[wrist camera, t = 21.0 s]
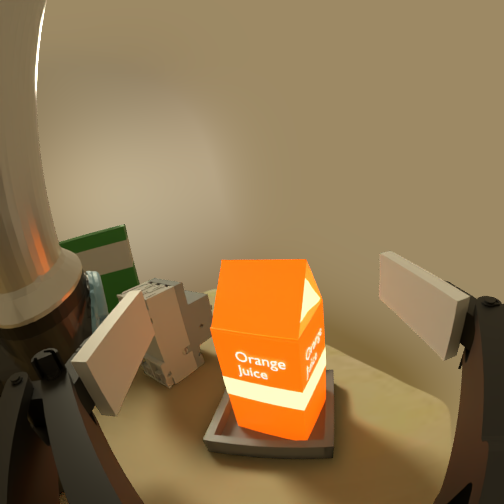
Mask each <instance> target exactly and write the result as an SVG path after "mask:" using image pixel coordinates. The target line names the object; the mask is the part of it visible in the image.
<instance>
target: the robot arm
mask: <svg viewBox="0 0 504 504" xmlns="http://www.w3.org/2000/svg"><path fill="white" fill-rule="evenodd" d="M45 5H46V0H0V504H60V497H59V494H60V493H61V492H63V491H64V492H65V495H66V497H67V500H68V503H69V504H144V503H143V501H142V500H141V498H140V497H139V495H138V494H137V492H136V491H135V489H134V488H133V486H132V485H131V483H130V481H129V480H128V478H127V477H126V475H125V473H124V472H123V470H122V468H121V466H120V465H119V463H118V461H117V459H116V457H115V456H114V454H113V452H112V450H111V448H110V446H109V444H108V442H107V440H106V438H105V436H104V434H103V432H102V430H101V428H100V425H99V423H98V421H97V419H96V417H95V415H94V414H93V412H92V410H93V408H94V406H95V405H96V407H97V408H98V410H99V412H100V413H101V415H108V416H117V415H118V413H119V410H120V408H121V406H122V403H123V401H124V399H125V397H126V394H127V392H128V390H129V388H130V385H131V383H132V381H133V379H134V377H135V374H136V372H137V370H138V368H139V366H140V364H141V362H142V360H143V357H144V355H145V353H146V351H147V349H148V347H149V345H150V343H151V341H152V339H153V337H154V335H155V332H154V329H153V326H152V323H151V320H150V317H149V313H148V310H147V307H146V304H145V300H144V297H143V294H142V290H136V291H129V292H128V293H127V294H126V296H125V297H124V298H123V299H122V300H121V301H120V302H119V304H118V305H117V306H116V307H115V308H114V309H113V310H112V312H111V313H110V314H109V313H108V307H107V303H106V298H105V294H104V290H103V285H102V281H101V277H100V274H99V273H98V272H97V271H89V270H88V271H86V272H85V273H84V270H83V267H82V264H81V261H80V259H79V258H78V256H77V255H76V254H75V253H73V252H71V251H69V250H67V249H64V248H62V247H61V246H60V245H59V242H58V238H57V235H56V231H55V227H54V223H53V219H52V215H51V211H50V206H49V202H48V197H47V192H46V187H45V181H44V175H43V169H42V162H41V154H40V145H39V136H38V122H37V65H38V52H39V42H40V34H41V27H42V21H43V15H44V10H45ZM379 285H380V286H379V299H381V300H382V301H383V302H384V303H385V304H386V305H387V306H388V307H389V308H390V309H391V310H392V311H393V312H395V313H396V314H397V315H398V316H399V317H400V318H401V319H402V320H403V321H404V322H405V323H406V324H407V325H408V326H409V327H410V328H411V329H412V330H413V331H414V332H416V334H418V336H419V337H420V338H422V339H423V341H424V342H425V343H427V345H428V346H429V347H431V349H432V350H433V351H435V353H436V354H437V355H438V356H439V357H440V358H441V359H442V360H443V361H445V360H447V359H449V358H452V357H454V356H455V355H457V352H458V348H459V344H460V343H461V344H462V345H463V346H464V347H465V349H464V352H463V355H462V359H461V362H460V366H459V368H458V369H461V366H462V383H461V395H460V405H459V412H458V420H457V426H456V432H455V438H454V443H453V447H452V452H451V456H450V461H449V465H448V468H447V472H446V476H445V479H444V483H443V486H442V488H441V491H440V493H439V494H438V496H437V498H436V499H435V501H434V503H433V504H504V304H501V302H500V301H499V300H498V299H496V298H494V297H489V296H482V297H479V298H478V299H476V298H474V297H473V296H471V295H470V294H468V293H466V292H465V291H463V290H461V289H460V288H458V287H455V286H454V285H453V284H451V283H450V282H448V281H444V280H442V279H440V278H439V277H437V276H435V275H433V274H432V273H430V272H428V271H426V270H425V269H423V268H421V267H419V266H417V265H416V264H414V263H412V262H410V261H408V260H407V259H405V258H403V257H401V256H399V255H398V254H396V253H394V252H392V251H389V252H383V253H380V282H379Z"/></svg>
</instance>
